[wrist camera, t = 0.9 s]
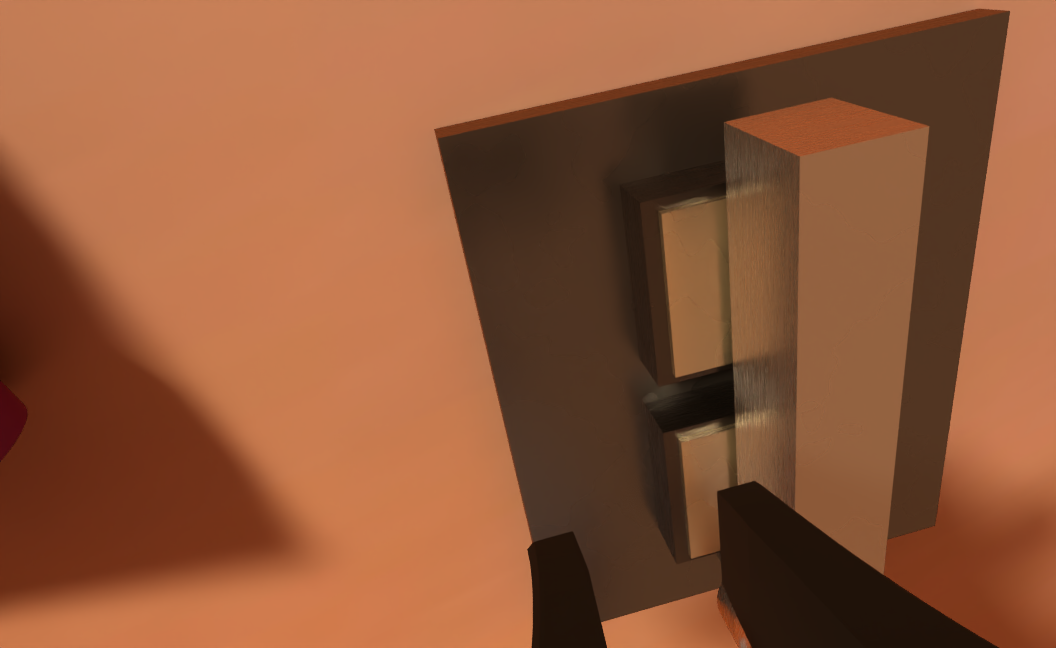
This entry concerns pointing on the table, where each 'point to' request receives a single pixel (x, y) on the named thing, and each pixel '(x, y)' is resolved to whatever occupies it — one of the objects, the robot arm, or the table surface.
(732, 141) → the beige rectangular bar
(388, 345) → the table surface
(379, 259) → the table surface
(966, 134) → the tray
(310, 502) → the table surface
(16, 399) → the mounting bracket
